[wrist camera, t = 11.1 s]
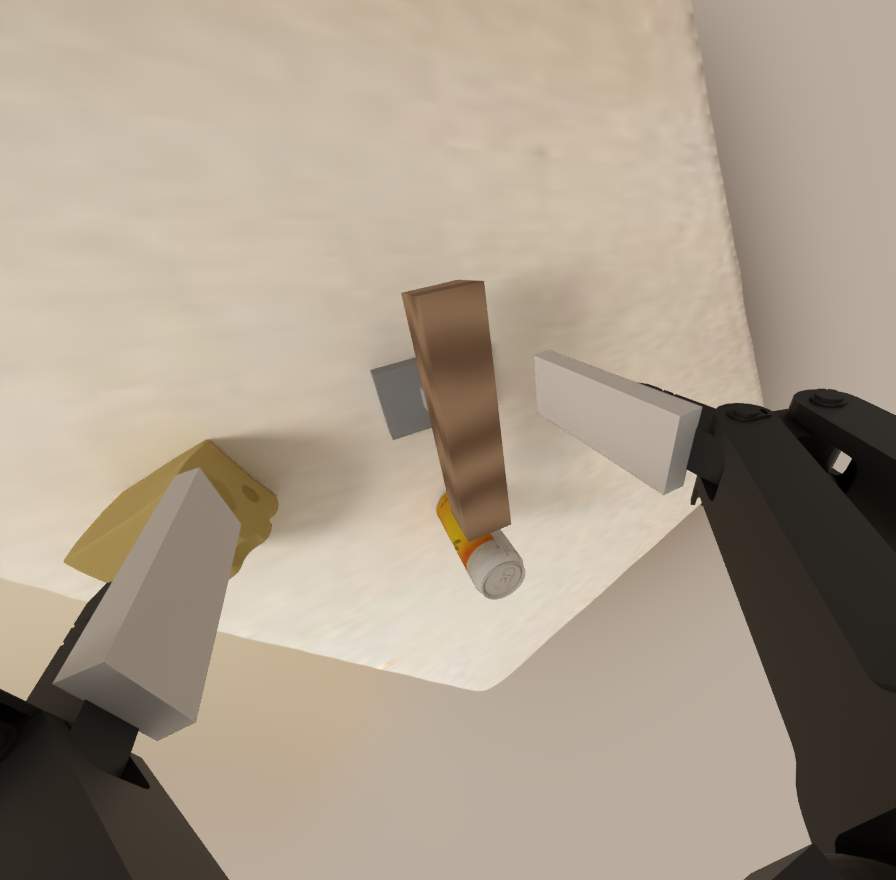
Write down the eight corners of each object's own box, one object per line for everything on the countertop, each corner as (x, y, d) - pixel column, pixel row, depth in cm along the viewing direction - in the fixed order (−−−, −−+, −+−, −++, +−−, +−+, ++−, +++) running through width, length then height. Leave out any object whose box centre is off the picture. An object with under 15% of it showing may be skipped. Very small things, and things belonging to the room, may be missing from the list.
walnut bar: (401, 293, 27) (417, 296, 23) (458, 279, 28) (483, 281, 24) (451, 513, 39) (468, 542, 35) (490, 497, 40) (511, 524, 36)
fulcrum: (370, 370, 37) (383, 392, 30) (469, 342, 39) (502, 356, 33) (389, 433, 41) (405, 464, 34) (478, 403, 43) (509, 427, 37)
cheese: (280, 495, 39) (272, 556, 31) (200, 548, 39) (170, 625, 30) (206, 431, 34) (172, 484, 25) (111, 492, 33) (44, 566, 25)
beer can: (428, 515, 48) (469, 601, 36) (445, 480, 47) (495, 557, 34) (462, 521, 51) (511, 603, 39) (480, 488, 50) (537, 562, 37)
